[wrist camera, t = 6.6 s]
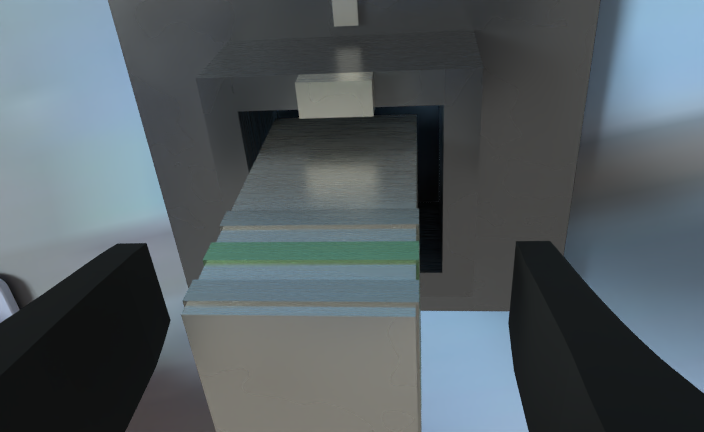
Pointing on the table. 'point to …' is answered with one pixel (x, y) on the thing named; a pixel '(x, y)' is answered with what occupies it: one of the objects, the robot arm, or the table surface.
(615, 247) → the table surface
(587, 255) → the table surface
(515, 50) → the stand base
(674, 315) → the table surface
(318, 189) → the column
